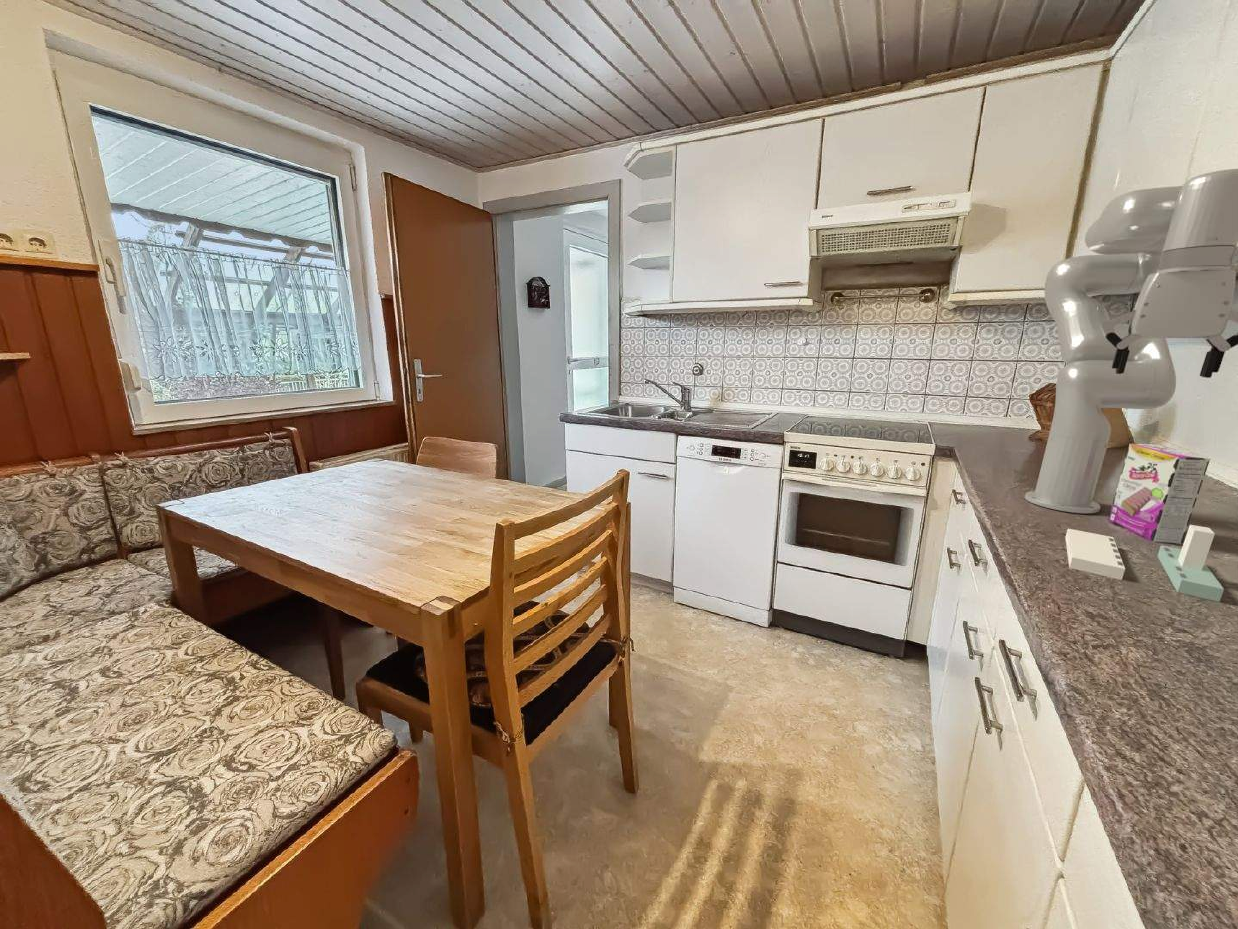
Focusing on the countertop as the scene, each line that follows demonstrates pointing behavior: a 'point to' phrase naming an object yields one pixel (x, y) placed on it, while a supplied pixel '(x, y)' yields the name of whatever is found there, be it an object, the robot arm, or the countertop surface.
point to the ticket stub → (1192, 565)
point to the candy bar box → (1157, 492)
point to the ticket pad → (1094, 554)
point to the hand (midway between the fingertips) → (1160, 375)
